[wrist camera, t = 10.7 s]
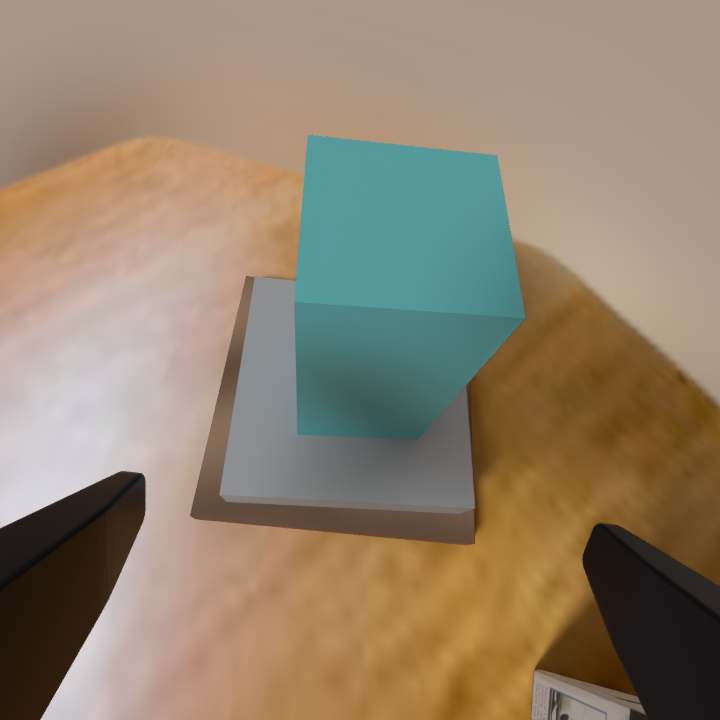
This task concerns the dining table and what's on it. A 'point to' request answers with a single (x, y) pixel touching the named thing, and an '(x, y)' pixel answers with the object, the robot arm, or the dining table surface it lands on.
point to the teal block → (397, 284)
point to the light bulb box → (580, 700)
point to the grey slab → (330, 453)
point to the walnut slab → (306, 517)
